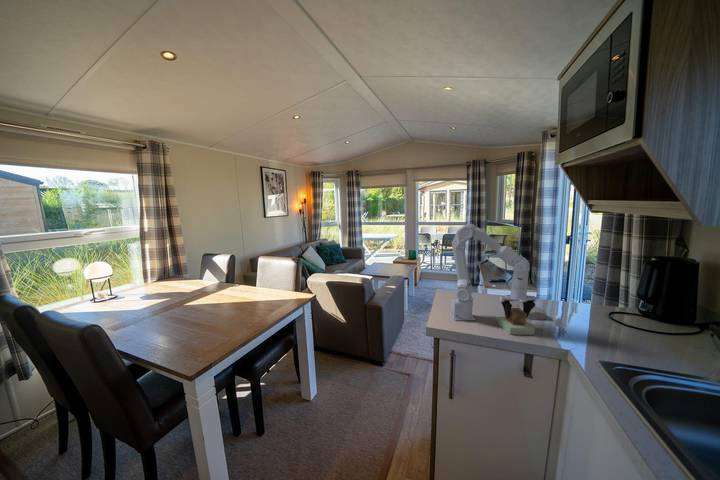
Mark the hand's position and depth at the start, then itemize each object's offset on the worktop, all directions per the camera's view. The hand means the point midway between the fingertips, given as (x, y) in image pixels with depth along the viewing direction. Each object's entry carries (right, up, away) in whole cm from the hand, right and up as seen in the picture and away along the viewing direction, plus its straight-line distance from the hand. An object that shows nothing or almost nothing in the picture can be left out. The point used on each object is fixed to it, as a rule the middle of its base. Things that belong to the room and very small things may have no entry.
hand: (516, 317), depth 112 cm
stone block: (+14, -3, +14) cm, 21 cm away
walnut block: (0, -2, +1) cm, 2 cm away
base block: (0, -5, +1) cm, 5 cm away
